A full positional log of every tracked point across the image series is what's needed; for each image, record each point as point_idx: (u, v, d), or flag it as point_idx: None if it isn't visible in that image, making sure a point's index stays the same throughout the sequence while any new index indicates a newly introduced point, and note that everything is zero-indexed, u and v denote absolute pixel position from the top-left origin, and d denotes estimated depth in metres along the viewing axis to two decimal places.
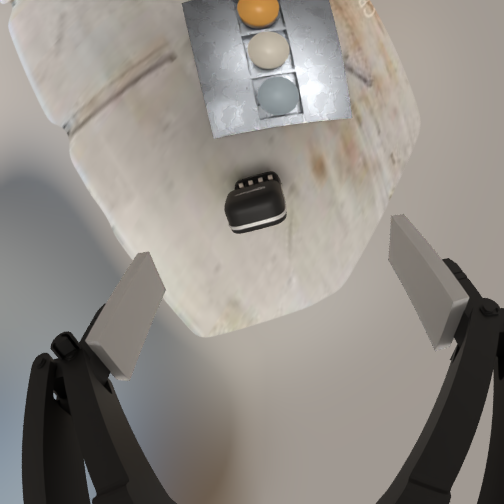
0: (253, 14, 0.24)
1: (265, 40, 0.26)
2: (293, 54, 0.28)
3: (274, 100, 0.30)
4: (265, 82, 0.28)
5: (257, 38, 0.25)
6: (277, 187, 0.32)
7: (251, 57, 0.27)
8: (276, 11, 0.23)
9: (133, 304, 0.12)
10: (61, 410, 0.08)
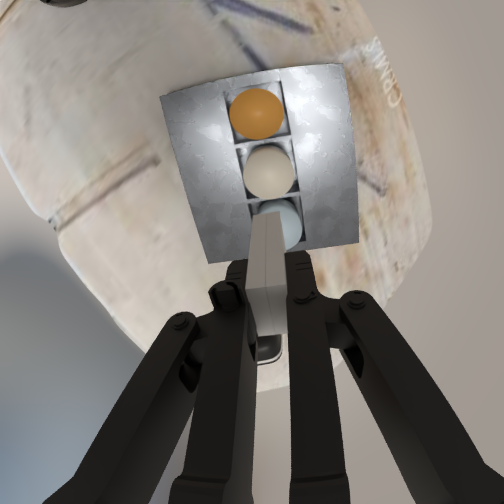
0: (250, 125, 0.24)
1: (266, 164, 0.25)
2: (298, 173, 0.28)
3: None
4: None
5: (255, 161, 0.25)
6: None
7: (248, 186, 0.27)
8: (280, 121, 0.23)
9: None
10: (181, 387, 0.09)
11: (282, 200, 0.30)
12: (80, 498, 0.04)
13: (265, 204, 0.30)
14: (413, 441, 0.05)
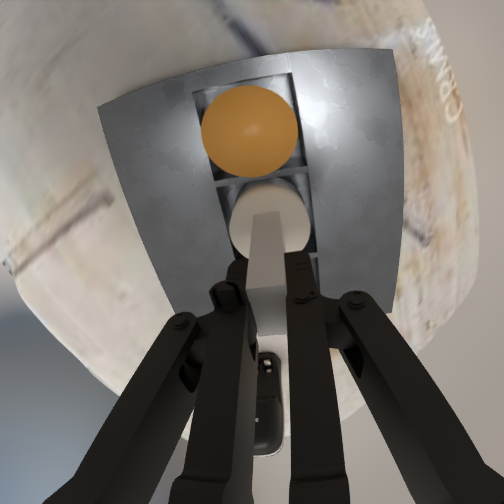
0: (238, 153, 0.14)
1: None
2: (317, 225, 0.18)
3: None
4: None
5: (248, 207, 0.16)
6: (274, 419, 0.22)
7: (237, 245, 0.17)
8: (291, 145, 0.13)
9: None
10: (181, 387, 0.09)
11: None
12: (80, 498, 0.04)
13: None
14: (413, 441, 0.05)
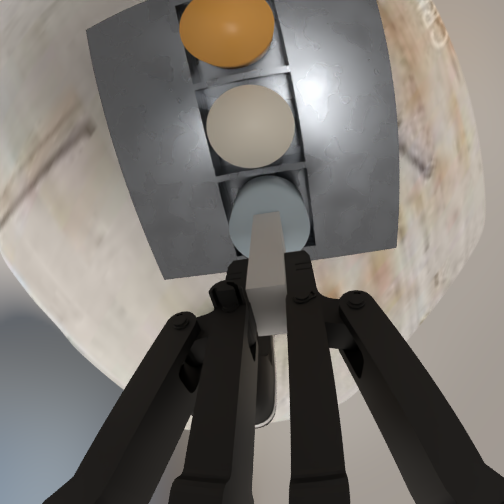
0: (215, 43, 0.11)
1: (244, 107, 0.14)
2: (303, 129, 0.15)
3: None
4: (243, 203, 0.16)
5: (226, 102, 0.14)
6: (263, 379, 0.20)
7: (215, 145, 0.15)
8: (268, 33, 0.11)
9: None
10: (181, 387, 0.09)
11: (276, 177, 0.18)
12: (80, 498, 0.04)
13: (247, 184, 0.18)
14: (413, 441, 0.05)
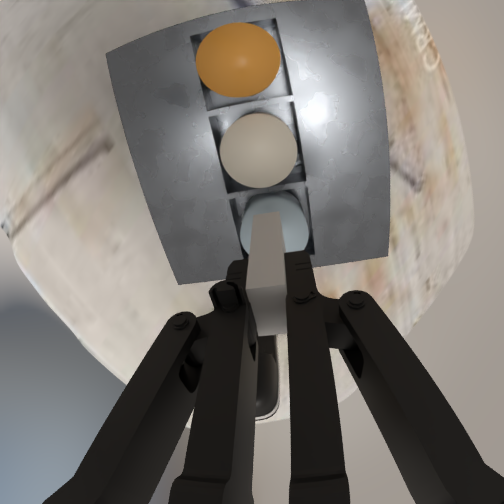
0: (228, 76, 0.14)
1: (253, 134, 0.16)
2: (304, 153, 0.18)
3: None
4: (253, 214, 0.19)
5: (238, 129, 0.16)
6: (268, 374, 0.22)
7: (227, 168, 0.18)
8: (275, 69, 0.13)
9: None
10: (181, 387, 0.09)
11: (280, 191, 0.21)
12: (80, 498, 0.04)
13: (255, 197, 0.21)
14: (413, 441, 0.05)
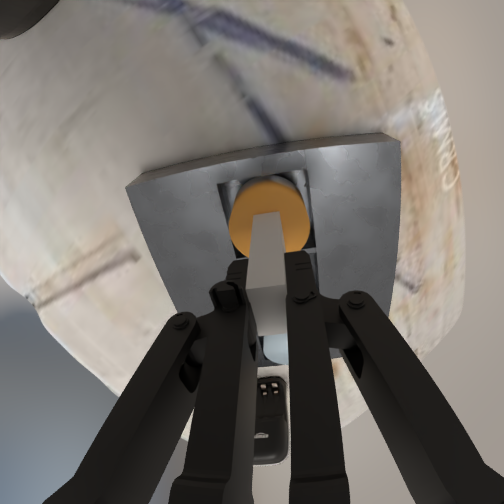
0: None
1: None
2: (321, 291, 0.21)
3: (285, 353, 0.24)
4: (274, 337, 0.23)
5: None
6: (281, 435, 0.26)
7: None
8: (303, 239, 0.17)
9: None
10: (181, 387, 0.09)
11: None
12: (80, 498, 0.04)
13: None
14: (413, 441, 0.05)
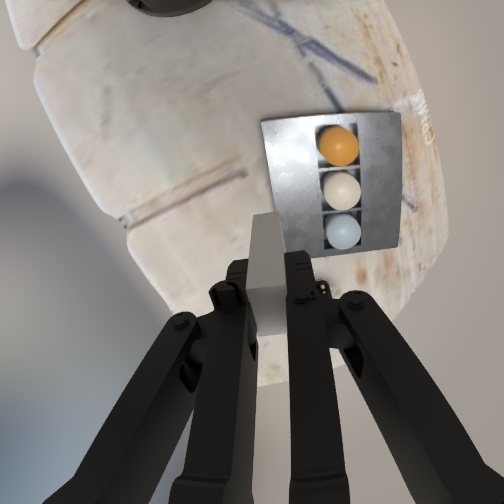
0: (335, 155, 0.32)
1: (342, 184, 0.34)
2: (362, 193, 0.35)
3: (340, 237, 0.38)
4: (336, 222, 0.37)
5: (335, 181, 0.34)
6: None
7: (327, 199, 0.35)
8: (355, 154, 0.32)
9: None
10: (181, 387, 0.09)
11: None
12: (80, 498, 0.04)
13: (333, 213, 0.39)
14: (413, 441, 0.05)
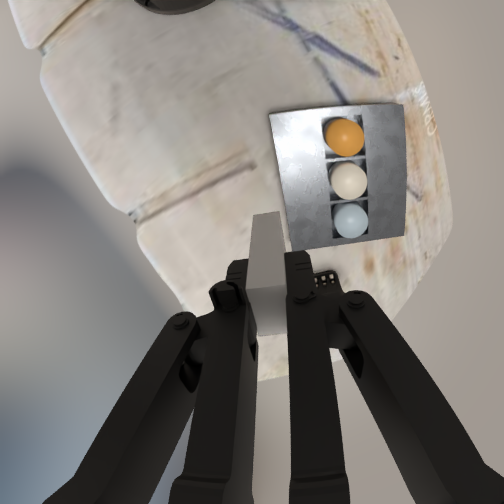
0: (341, 146, 0.32)
1: (349, 174, 0.34)
2: (368, 183, 0.36)
3: (348, 226, 0.38)
4: (343, 212, 0.37)
5: (342, 171, 0.34)
6: None
7: (335, 189, 0.36)
8: (361, 145, 0.32)
9: None
10: (181, 387, 0.09)
11: None
12: (80, 498, 0.04)
13: (340, 203, 0.39)
14: (413, 441, 0.05)
